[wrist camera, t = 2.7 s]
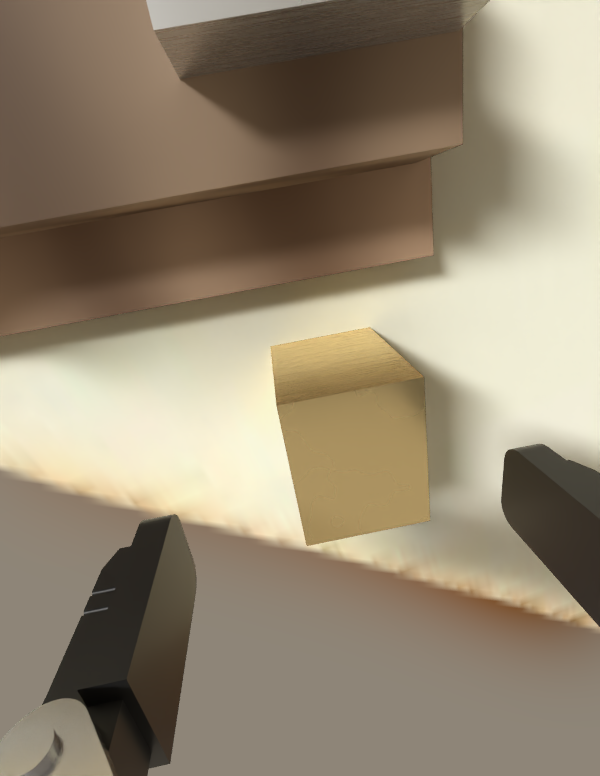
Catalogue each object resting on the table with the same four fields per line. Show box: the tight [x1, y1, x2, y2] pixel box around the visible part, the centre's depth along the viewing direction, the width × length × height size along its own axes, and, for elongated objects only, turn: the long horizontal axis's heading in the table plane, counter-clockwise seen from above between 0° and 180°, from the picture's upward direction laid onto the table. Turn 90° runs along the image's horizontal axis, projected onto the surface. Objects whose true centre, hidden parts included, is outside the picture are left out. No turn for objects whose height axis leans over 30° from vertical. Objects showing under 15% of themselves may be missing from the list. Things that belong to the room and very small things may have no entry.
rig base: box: [0, 0, 463, 336], centre depth 10 cm, size 20×12×4 cm, turn 100°
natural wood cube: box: [271, 327, 430, 546], centre depth 14 cm, size 5×4×6 cm
